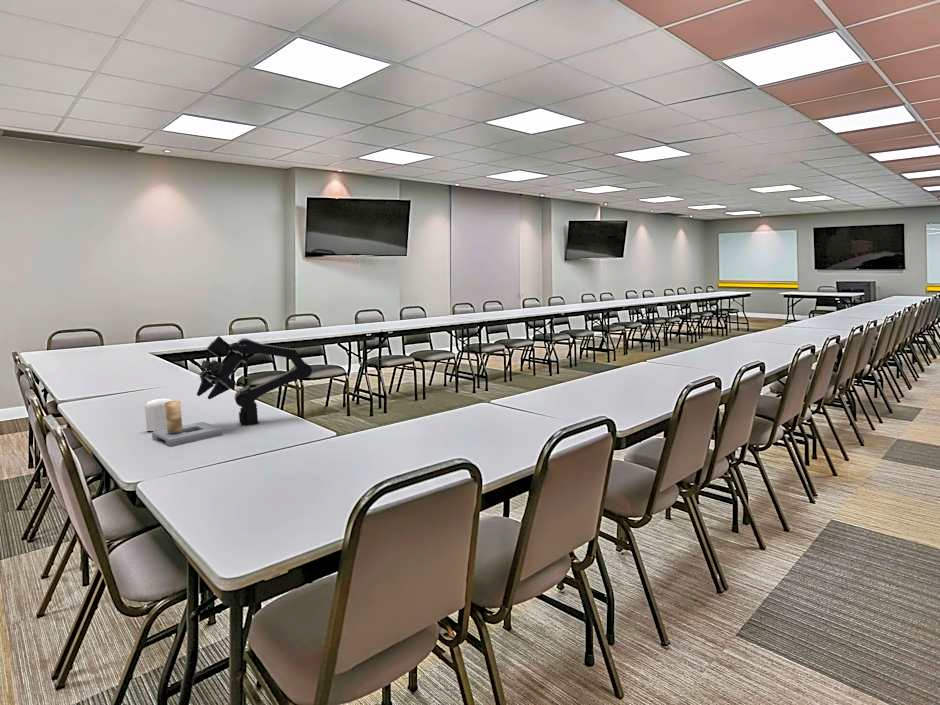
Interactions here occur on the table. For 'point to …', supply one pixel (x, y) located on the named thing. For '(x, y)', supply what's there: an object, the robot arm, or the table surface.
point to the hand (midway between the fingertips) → (202, 397)
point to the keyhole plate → (188, 433)
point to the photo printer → (156, 414)
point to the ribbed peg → (173, 417)
